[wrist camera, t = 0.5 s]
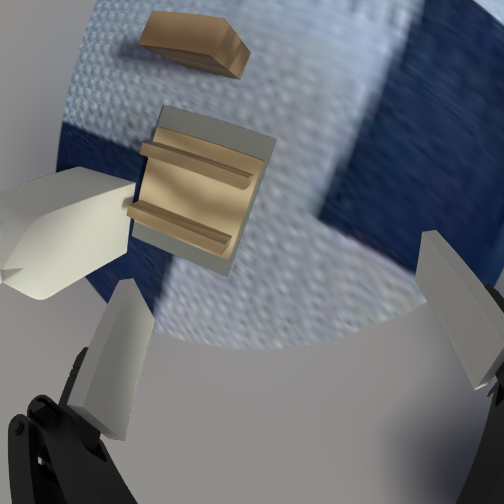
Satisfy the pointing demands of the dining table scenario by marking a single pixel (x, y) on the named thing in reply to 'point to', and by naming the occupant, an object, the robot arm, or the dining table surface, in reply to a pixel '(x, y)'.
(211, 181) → the rack
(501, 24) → the dining table surface
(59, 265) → the milk
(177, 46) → the brown wooden block
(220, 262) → the mat
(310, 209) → the dining table surface
